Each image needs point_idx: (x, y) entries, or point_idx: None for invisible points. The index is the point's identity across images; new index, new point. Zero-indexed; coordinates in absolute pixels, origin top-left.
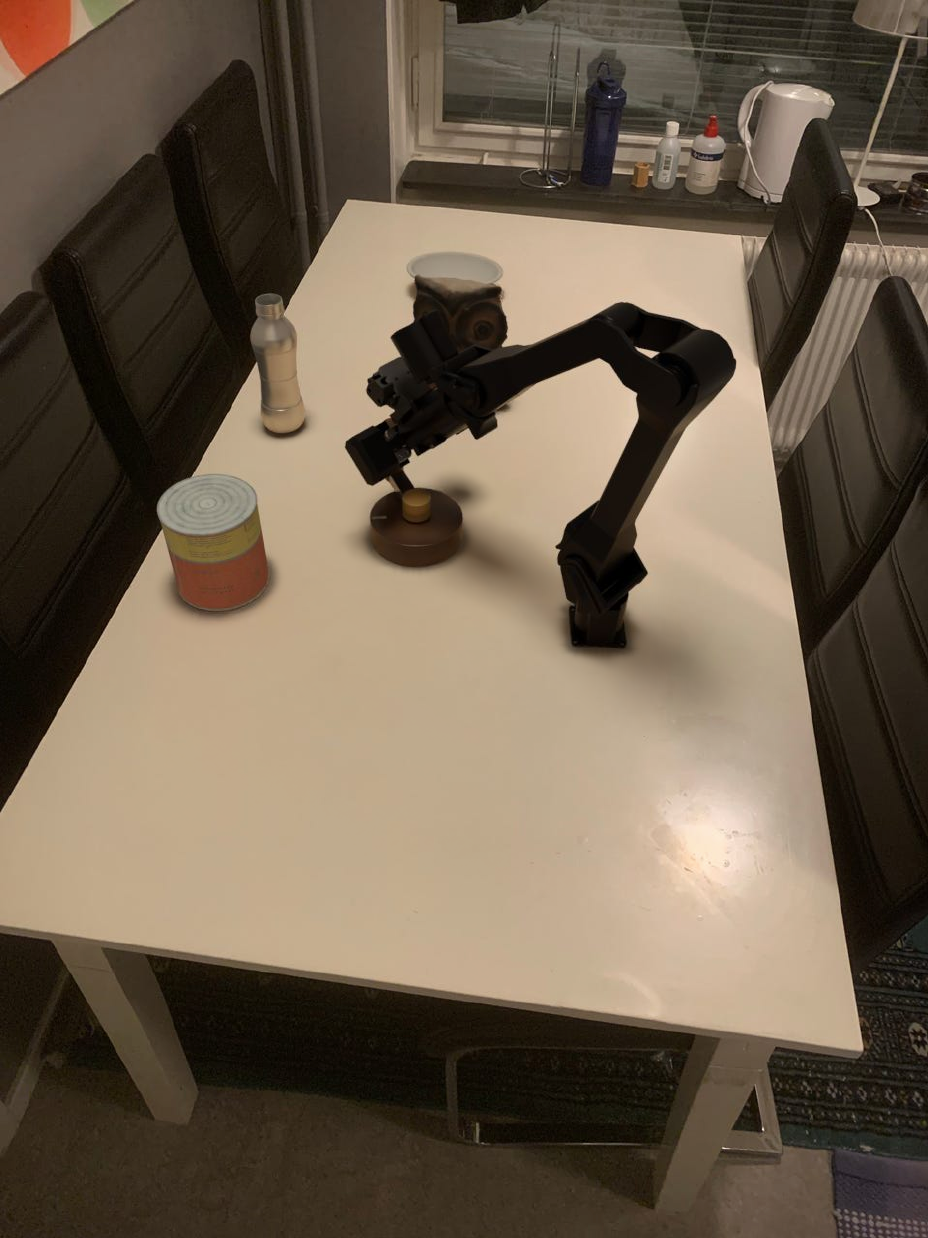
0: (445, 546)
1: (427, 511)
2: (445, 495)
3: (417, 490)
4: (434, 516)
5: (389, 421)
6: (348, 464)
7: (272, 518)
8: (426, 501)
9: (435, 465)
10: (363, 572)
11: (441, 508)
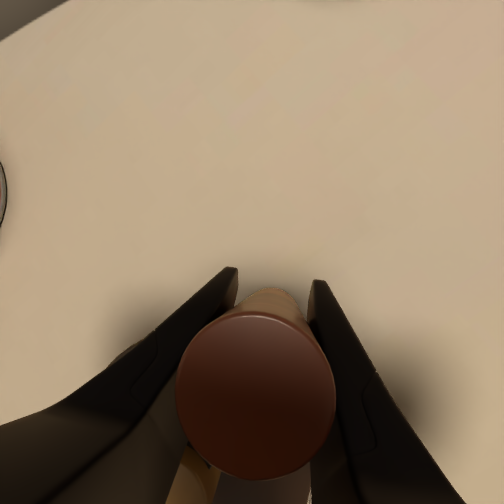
0: None
1: None
2: (305, 475)
3: (191, 489)
4: (213, 498)
5: (255, 360)
6: (315, 141)
7: (95, 150)
8: None
9: (445, 299)
10: (67, 388)
11: (252, 496)
